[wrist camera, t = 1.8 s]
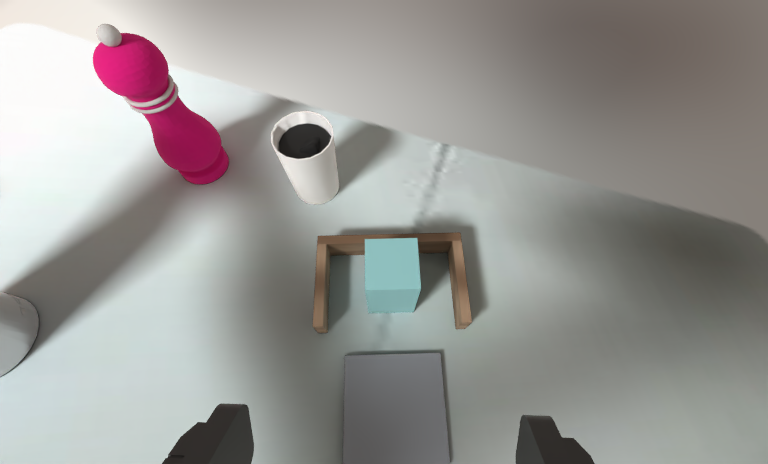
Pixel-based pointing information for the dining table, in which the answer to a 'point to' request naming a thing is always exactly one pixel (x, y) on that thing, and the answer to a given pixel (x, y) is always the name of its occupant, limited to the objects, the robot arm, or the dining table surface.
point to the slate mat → (394, 410)
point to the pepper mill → (159, 104)
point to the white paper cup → (307, 155)
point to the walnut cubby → (356, 246)
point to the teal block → (392, 275)
